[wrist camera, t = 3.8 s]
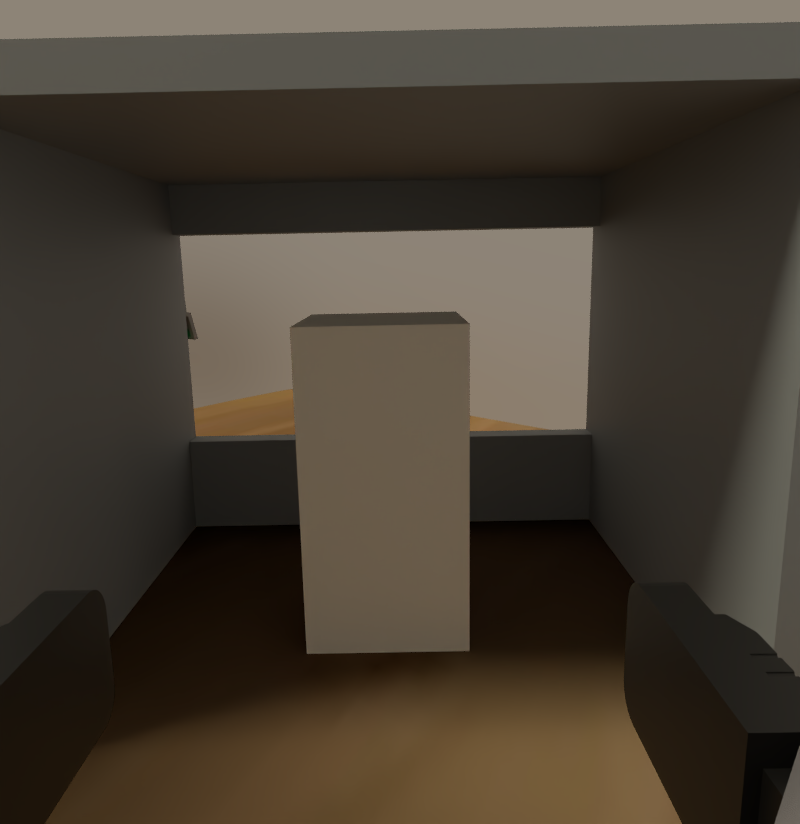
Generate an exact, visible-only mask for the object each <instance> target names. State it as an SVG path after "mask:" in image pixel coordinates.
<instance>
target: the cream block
mask: <svg viewBox="0 0 800 824" xmlns="http://www.w3.org/2000/svg"><path fill="white" fill-rule="evenodd" d="M469 330H470V324H469V323H468V322H467V321H466V320H465V319H464V318H462V317H461V316H460V315H459V314H458V313H457V312H420V313H419V312H418V313H368V314H318V315H310V316H309V317H307V318H305V319H304V320H302V321H300V322H298V323H297V324H295V325H293V326H292V327H290V338H291V339H290V340H291V358H292V377H293V398H294V418H295V437H296V456H297V476H298V495H299V514H300V534H301V553H302V572H303V591H304V611H305V630H306V649H307V654H327V653H384V652H442V651H470V413H469V412H470V408H469V407H470V401H469V400H470V396H469V395H470V390H469V389H470V383H469V382H470V379H469V378H470V376H469V375H470V374H469V373H470V369H469V368H470V367H469V366H470V358H469V357H470V343H469V342H470V341H469V338H470V336H469V335H470V332H469Z"/></svg>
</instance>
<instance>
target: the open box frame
mask: <svg viewBox="0 0 800 824" xmlns="http://www.w3.org/2000/svg"><path fill="white" fill-rule="evenodd" d="M586 227H587V228H589V227H593V252H592V280H591V309H590V338H589V367H588V395H587V422H586V429H579V430H578V429H575V430H520V431H470V521H523V520H578V519H589V520H590V522H591V523H592V524H593V526H594V527H595V528H596V530H597V531H598V532H599V534H600V535H601V537H602V538H603V539H604V541H605V542H606V543H607V545H608V546H609V547H610V549H611V550H612V552H613V553H614V554H615V556H616V557H617V558H618V560H619V561H620V562H621V564H622V565H623V567H624V568H625V569H626V571H627V572H628V573H629V575H630V576H631V577H632V579H633V580H634V582H635V583H638V582H685V583H687V584H688V585H689V586H690V587H691V588H692V590H693V591H694V592H695V593H696V594H697V595H698V596H699V597H700V599H701V600H702V601H703V602H704V603H705V604H706V605H707V606H708V608H709V609H710V610H711V611H712V612H713V613H714V614H726V615H728V616H729V617H731V618H733V619H735V620H736V621H738V622H740V623H742V624H743V625H745V626H747V627H749V628H751V629H752V630H754V631H756V632H757V633H758V634H759V635H760V636H761V637H762V638H763V639H764V640H765V641H766V642H767V643H768V644H769V645H770V646H771V647H772V648H773V650H774V651H775V652H776V653H777V656H778V658H782V659H783V660H784V661H785V662H786V663H787V664H788V665H789V666H790V667H791V668H792V669H793V670H794V672H795V676H799V677H800V22H784V23H739V24H738V23H737V24H693V25H647V26H646V25H645V26H603V27H602V26H601V27H600V26H599V27H556V28H555V27H553V28H511V29H510V28H507V29H461V30H418V31H417V30H415V31H371V32H369V31H368V32H323V33H276V34H230V35H184V36H139V37H94V38H49V39H47V38H46V39H0V627H1V626H3V625H4V624H9V623H10V622H11V621H12V620H13V619H14V618H15V617H16V616H17V615H18V614H20V613H21V612H22V611H23V610H24V609H25V608H26V607H27V606H28V605H29V604H30V603H32V602H33V601H34V600H35V599H36V598H37V597H38V596H39V595H40V594H42V593H43V592H45V591H52V590H98V591H99V592H100V593H101V594H102V596H103V598H104V601H105V605H106V612H107V621H108V630H109V638H110V637H111V636H112V634H113V633H114V632H115V630H116V629H117V628H118V627H119V625H120V624H121V623H122V621H123V620H124V619H125V618H126V616H127V615H128V614H129V612H130V611H131V610H132V609H133V607H134V606H135V605H136V603H137V602H138V601H139V600H140V598H141V597H142V596H143V594H144V593H145V592H146V591H147V589H148V588H149V587H150V585H151V584H152V583H153V582H154V580H155V579H156V578H157V576H158V575H159V574H160V573H161V571H162V570H163V569H164V567H165V566H166V565H167V564H168V562H169V561H170V560H171V558H172V557H173V556H174V555H175V553H176V552H177V551H178V549H179V548H180V547H181V546H182V544H183V543H184V542H185V540H186V539H187V538H188V537H189V535H190V534H191V533H192V531H193V530H194V529H195V528H196V526H245V525H300V514H299V495H298V476H297V456H296V437H295V435H252V436H198V437H196V434H195V421H194V409H193V397H192V384H191V373H190V360H189V348H188V335H187V322H186V310H185V298H184V286H183V274H182V261H181V249H180V236H193V235H242V234H290V233H342V232H389V231H390V232H391V231H438V230H439V231H440V230H489V229H537V228H586Z"/></svg>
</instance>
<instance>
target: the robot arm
mask: <svg viewBox="0 0 800 824" xmlns="http://www.w3.org/2000/svg"><path fill="white" fill-rule="evenodd" d="M624 690H625V698H626V704H627V708H628V712H629V716H630V719H631V721H632V723H633V726H634V728H635V730H636V732H637V734H638V736H639V738H640V740H641V742H642V744H643V746H644V748H645V750H646V752H647V754H648V756H649V758H650V760H651V762H652V764H653V766H654V768H655V770H656V772H657V774H658V776H659V778H660V780H661V782H662V784H663V786H664V788H665V790H666V792H667V794H668V796H669V798H670V800H671V802H672V804H673V806H674V808H675V810H676V812H677V814H678V816H679V818H680V820H681V822H682V824H800V677H799V676H795V672H794V670H793V669H792V668H791V667H790V666H789V665H788V664H787V663H786V662H785V661H784V660H783V659H782V658H778V656H777V653H776V652H775V651H774V650H773V648H772V647H771V646H770V645H769V644H768V643H767V642H766V641H765V640H764V639H763V638H762V637H761V636H760V635H759V634H758V633H757V632H756V631H754V630H752V629H751V628H749V627H747V626H745V625H743V624H742V623H740V622H738V621H736V620H735V619H733V618H731V617H729V616H728V615H726V614H714V613H713V612H712V611H711V610H710V609H709V608H708V606H707V605H706V604H705V603H704V602H703V601H702V600H701V599H700V597H699V596H698V595H697V594H696V593H695V592H694V591H693V590H692V588H691V587H690V586H689V585H688V584H687V583H685V582H638V583H633V584H632V585H631V587H630V590H629V595H628V608H627V627H626V647H625V666H624ZM114 693H115V684H114V674H113V665H112V656H111V647H110V638H109V630H108V621H107V612H106V605H105V601H104V598H103V596H102V594H101V593H100V592H99V591H98V590H52V591H45V592H43V593H42V594H40V595H39V596H38V597H37V598H36V599H35V600H34V601H33V602H32V603H30V604H29V605H28V606H27V607H26V608H25V609H24V610H23V611H22V612H21V613H20V614H18V615H17V616H16V617H15V618H14V619H13V620H12V621H11V622H10V623H9V624H4V625H3V626H1V627H0V824H45V822H46V820H47V819H48V817H49V816H50V814H51V813H52V811H53V809H54V808H55V806H56V805H57V803H58V802H59V800H60V798H61V797H62V795H63V794H64V792H65V791H66V789H67V788H68V786H69V784H70V783H71V781H72V780H73V778H74V777H75V775H76V773H77V772H78V770H79V769H80V767H81V766H82V764H83V763H84V761H85V759H86V758H87V756H88V755H89V753H90V752H91V750H92V748H93V747H94V745H95V744H96V742H97V741H98V739H99V737H100V736H101V734H102V733H103V731H104V730H105V728H106V726H107V724H108V722H109V719H110V716H111V712H112V708H113V703H114Z"/></svg>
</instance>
